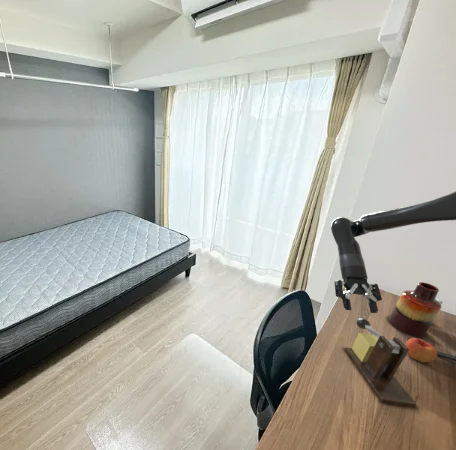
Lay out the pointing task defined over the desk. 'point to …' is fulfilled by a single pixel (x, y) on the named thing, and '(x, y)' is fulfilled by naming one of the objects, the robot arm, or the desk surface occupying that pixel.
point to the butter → (364, 346)
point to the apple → (421, 350)
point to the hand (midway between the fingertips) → (361, 311)
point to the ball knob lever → (376, 333)
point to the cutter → (384, 371)
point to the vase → (416, 310)
